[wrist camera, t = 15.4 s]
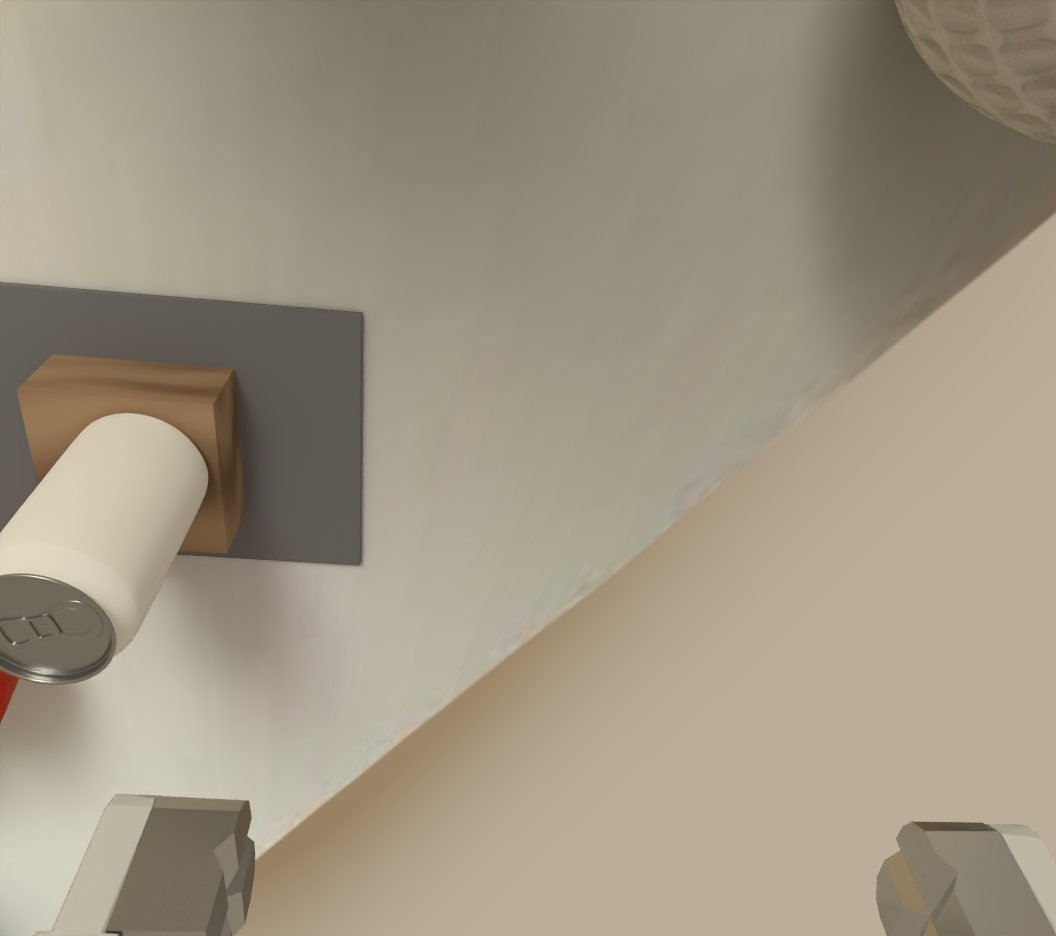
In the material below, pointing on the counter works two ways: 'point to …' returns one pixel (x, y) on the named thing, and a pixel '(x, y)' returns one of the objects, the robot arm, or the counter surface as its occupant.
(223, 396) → the plinth
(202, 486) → the can
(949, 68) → the vase
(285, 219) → the counter surface
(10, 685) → the apple
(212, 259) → the counter surface
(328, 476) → the mat
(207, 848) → the robot arm
